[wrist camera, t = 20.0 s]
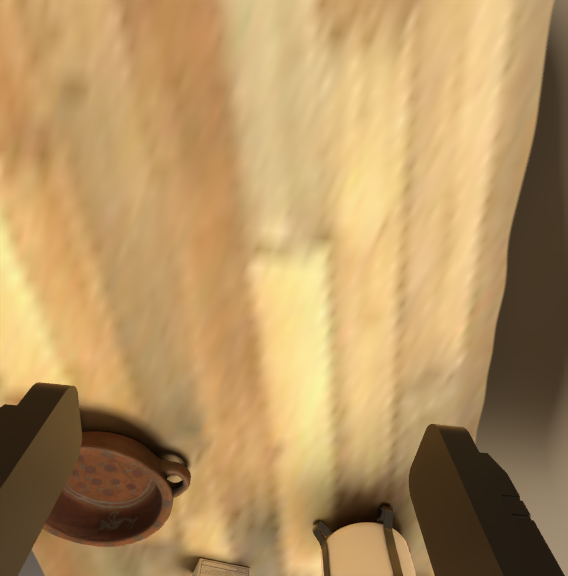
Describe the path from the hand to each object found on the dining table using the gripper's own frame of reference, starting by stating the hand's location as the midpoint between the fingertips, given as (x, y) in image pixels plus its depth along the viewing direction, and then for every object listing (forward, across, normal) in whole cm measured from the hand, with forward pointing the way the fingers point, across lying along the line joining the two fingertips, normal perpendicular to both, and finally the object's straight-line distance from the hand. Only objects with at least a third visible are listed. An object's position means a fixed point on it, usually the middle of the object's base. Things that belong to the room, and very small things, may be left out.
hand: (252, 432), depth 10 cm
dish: (+30, +16, +40) cm, 53 cm away
